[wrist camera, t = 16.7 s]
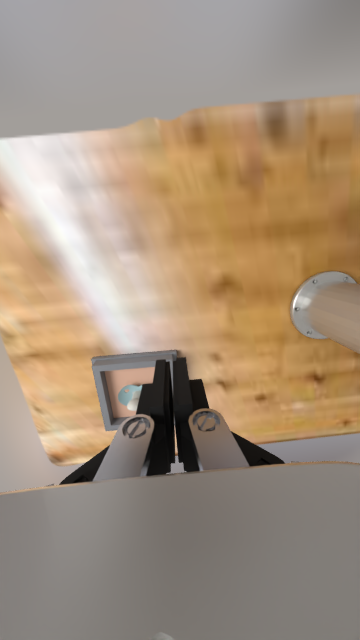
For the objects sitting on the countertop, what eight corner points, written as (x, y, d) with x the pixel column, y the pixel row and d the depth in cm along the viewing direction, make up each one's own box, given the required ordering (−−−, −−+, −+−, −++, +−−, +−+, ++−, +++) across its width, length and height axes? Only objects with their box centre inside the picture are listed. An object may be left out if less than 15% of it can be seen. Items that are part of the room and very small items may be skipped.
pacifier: (159, 405, 43) (157, 380, 41) (157, 430, 37) (155, 402, 35) (122, 406, 43) (119, 381, 41) (115, 432, 37) (111, 404, 35)
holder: (176, 349, 41) (176, 357, 38) (181, 413, 45) (182, 425, 42) (93, 356, 41) (86, 365, 37) (106, 420, 45) (101, 432, 42)
